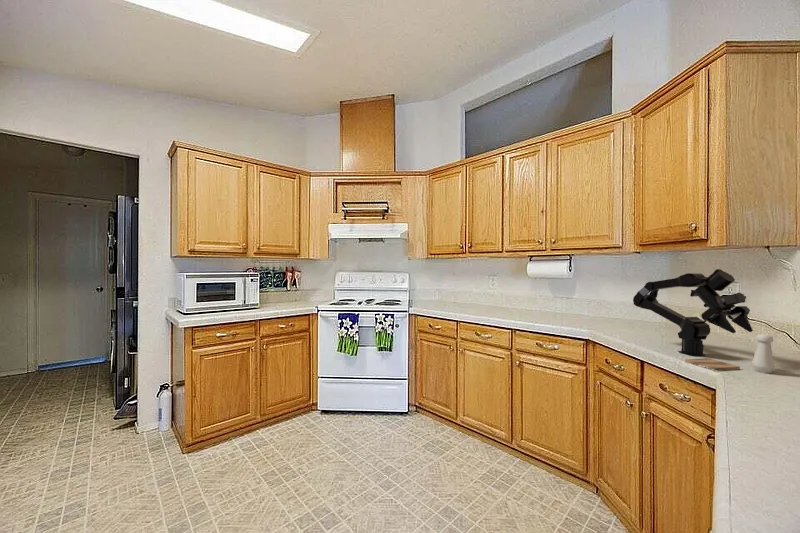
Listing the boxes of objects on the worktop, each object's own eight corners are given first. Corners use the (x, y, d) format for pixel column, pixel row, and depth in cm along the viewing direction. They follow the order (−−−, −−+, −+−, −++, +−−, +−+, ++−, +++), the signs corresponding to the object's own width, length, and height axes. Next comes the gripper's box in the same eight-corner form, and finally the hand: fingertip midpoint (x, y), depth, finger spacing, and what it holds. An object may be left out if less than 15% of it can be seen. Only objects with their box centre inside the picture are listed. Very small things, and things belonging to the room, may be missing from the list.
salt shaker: (751, 368, 135) (752, 332, 134) (773, 371, 131) (775, 334, 131) (752, 371, 130) (754, 334, 130) (775, 375, 126) (777, 337, 126)
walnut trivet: (685, 362, 141) (685, 359, 141) (708, 360, 143) (708, 358, 143) (715, 370, 130) (715, 368, 130) (739, 369, 133) (740, 366, 133)
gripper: (711, 285, 138) (745, 320, 128) (745, 285, 144) (780, 318, 133) (688, 303, 146) (718, 337, 136) (721, 302, 151) (752, 335, 141)
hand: (743, 332), depth 136 cm, fingers open, 9 cm apart
